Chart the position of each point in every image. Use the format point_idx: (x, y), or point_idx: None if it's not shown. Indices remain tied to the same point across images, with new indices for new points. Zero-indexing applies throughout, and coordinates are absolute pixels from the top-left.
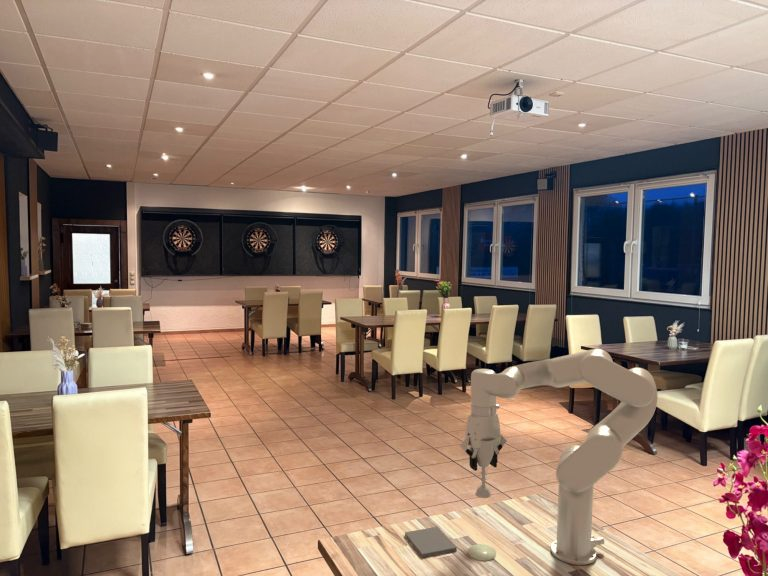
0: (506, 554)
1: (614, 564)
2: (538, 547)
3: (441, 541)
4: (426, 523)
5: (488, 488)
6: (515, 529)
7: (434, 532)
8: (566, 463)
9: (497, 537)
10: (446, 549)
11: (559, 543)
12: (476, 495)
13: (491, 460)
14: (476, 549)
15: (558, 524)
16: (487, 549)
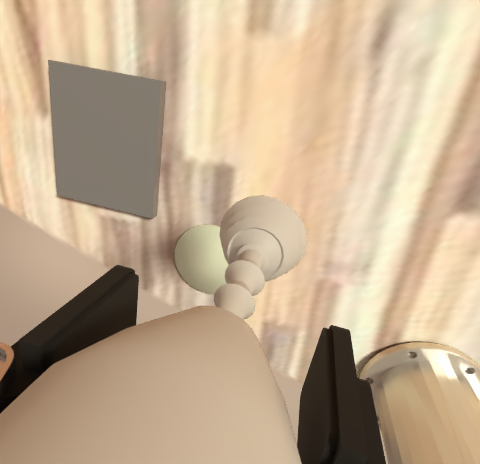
0: (263, 297)
1: None
2: (367, 323)
3: (128, 171)
4: (153, 16)
5: (272, 277)
6: (403, 222)
7: (134, 112)
8: None
9: (308, 226)
10: (123, 211)
11: (381, 401)
12: (220, 228)
13: (315, 390)
14: (202, 246)
15: (400, 446)
16: (227, 263)
